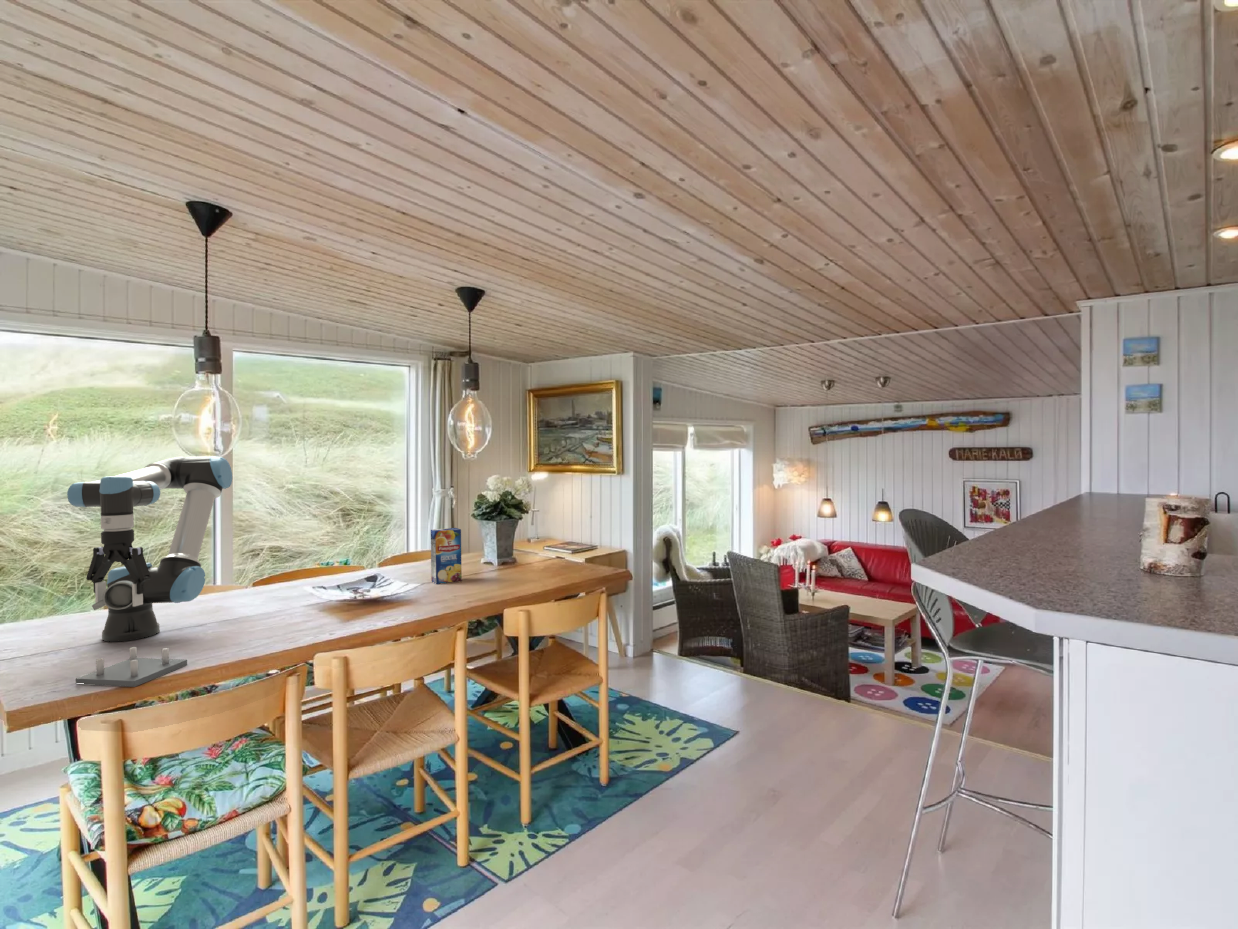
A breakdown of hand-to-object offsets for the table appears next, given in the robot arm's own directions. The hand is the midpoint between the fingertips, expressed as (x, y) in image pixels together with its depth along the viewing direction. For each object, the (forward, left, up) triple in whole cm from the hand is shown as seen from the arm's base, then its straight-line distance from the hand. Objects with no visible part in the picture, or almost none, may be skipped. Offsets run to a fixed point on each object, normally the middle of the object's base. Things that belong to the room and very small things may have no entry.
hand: (119, 604), depth 186 cm
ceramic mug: (0, 0, -1) cm, 1 cm away
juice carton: (+51, +117, -16) cm, 129 cm away
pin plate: (+14, -10, -16) cm, 24 cm away
